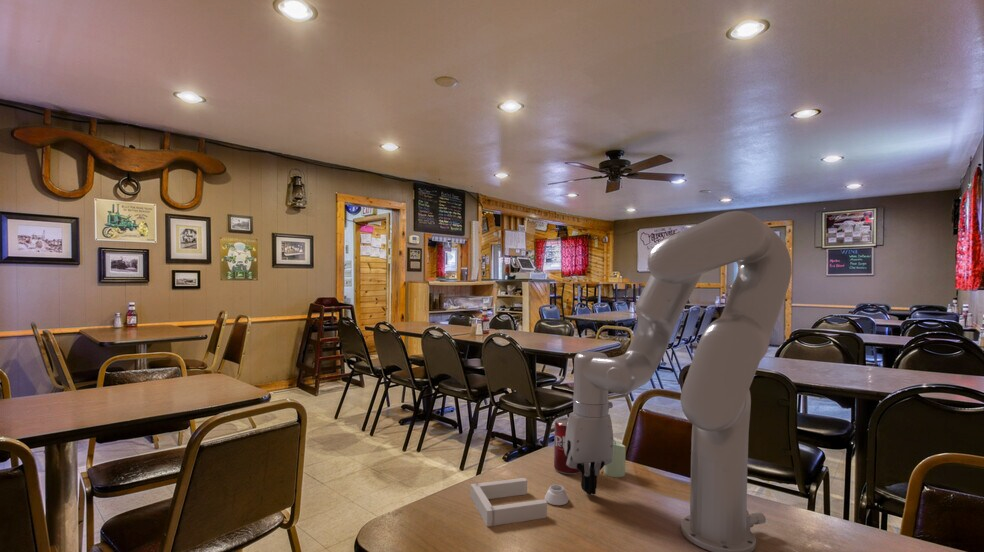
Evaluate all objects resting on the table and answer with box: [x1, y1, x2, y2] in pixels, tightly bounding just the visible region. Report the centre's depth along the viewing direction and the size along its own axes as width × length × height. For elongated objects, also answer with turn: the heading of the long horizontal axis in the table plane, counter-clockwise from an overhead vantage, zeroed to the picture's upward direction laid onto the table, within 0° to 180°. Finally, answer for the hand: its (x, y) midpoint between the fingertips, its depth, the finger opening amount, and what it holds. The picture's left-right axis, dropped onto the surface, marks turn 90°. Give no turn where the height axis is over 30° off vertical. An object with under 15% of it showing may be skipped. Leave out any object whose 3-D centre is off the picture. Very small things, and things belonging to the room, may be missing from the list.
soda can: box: [553, 417, 581, 476], centre depth 117 cm, size 7×7×12 cm
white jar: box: [544, 484, 570, 506], centre depth 101 cm, size 5×3×5 cm
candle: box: [603, 440, 627, 479], centre depth 115 cm, size 5×5×8 cm
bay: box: [470, 477, 548, 527], centre depth 97 cm, size 12×12×3 cm
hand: (588, 491), depth 103 cm, fingers closed
